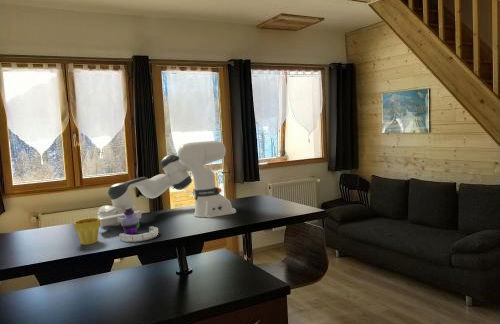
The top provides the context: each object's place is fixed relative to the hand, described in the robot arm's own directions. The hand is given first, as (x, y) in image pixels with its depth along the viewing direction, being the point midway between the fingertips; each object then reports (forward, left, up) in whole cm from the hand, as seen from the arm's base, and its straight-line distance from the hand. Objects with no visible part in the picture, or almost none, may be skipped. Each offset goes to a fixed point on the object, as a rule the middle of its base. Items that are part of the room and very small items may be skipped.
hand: (125, 220), depth 187 cm
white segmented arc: (-7, +13, -6) cm, 16 cm away
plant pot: (+15, +10, -6) cm, 19 cm away
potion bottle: (-2, +3, -6) cm, 7 cm away
